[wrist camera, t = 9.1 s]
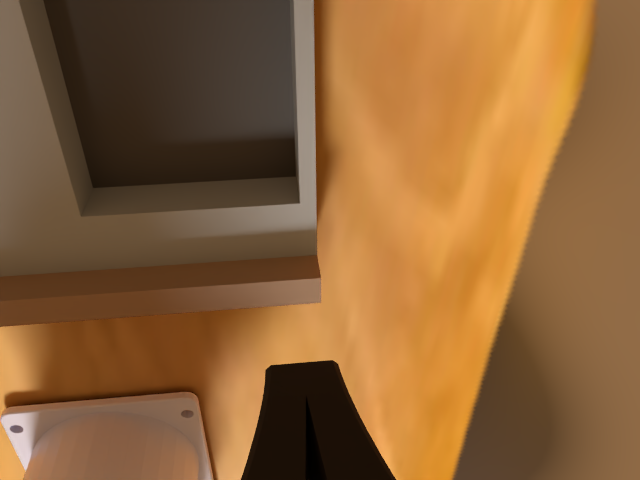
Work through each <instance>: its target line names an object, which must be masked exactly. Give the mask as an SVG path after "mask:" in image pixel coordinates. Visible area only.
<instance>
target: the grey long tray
mask: <svg viewBox="0 0 640 480" xmlns="http://www.w3.org/2000/svg"><path fill="white" fill-rule="evenodd" d="M310 303H321V276H320V270H319V264H318V258H317V215H316V136H315V58H314V0H0V327H3V326H16V325H30V324H43V323H56V322H70V321H83V320H96V319H110V318H123V317H136V316H150V315H163V314H176V313H190V312H203V311H216V310H230V309H243V308H256V307H270V306H283V305H296V304H310Z"/></svg>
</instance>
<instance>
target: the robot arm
mask: <svg viewBox="0 0 640 480" xmlns="http://www.w3.org/2000/svg"><path fill="white" fill-rule="evenodd" d="M188 410H189V411H188ZM0 421H1V423H2V425H3V427H4V429H5V431H6V433H7V435H8V437H9V439H10V441H11V443H12V445H13V447H14V449H15V451H16V453H17V455H18V457H19V459H20V461H21V463H22V465H23V467H24V469H25V471H26V472H25V475H24V478H23V480H214V479H213V474H212V468H211V463H210V458H209V453H208V448H207V442H206V437H205V432H204V427H203V422H202V416H201V411H200V406H199V401H198V398H197V396H196V395H195V394H194V393H191V392H177V393H165V394H153V395H142V396H130V397H118V398H107V399H95V400H83V401H72V402H60V403H48V404H37V405H25V406H13V407H8V408H6V409H5V410H4V411H3V413H2V415H1V418H0ZM241 480H396V479H395V477H394V476H393V474H392V472H391V471H390V469H389V468H388V466H387V464H386V463H385V461H384V459H383V458H382V456H381V454H380V452H379V451H378V449H377V447H376V445H375V443H374V442H373V440H372V438H371V436H370V435H369V433H368V431H367V429H366V427H365V425H364V423H363V422H362V420H361V418H360V416H359V414H358V412H357V409H356V407H355V405H354V403H353V401H352V399H351V397H350V395H349V392H348V390H347V388H346V385H345V383H344V380H343V377H342V375H341V372H340V369H339V366H338V364H337V363H336V362H334V361H333V360H330V361H317V362H305V363H293V364H281V365H271V366H270V367H269V368H267V369H266V373H265V387H264V394H263V400H262V405H261V410H260V415H259V419H258V423H257V428H256V431H255V435H254V438H253V442H252V445H251V449H250V452H249V456H248V460H247V463H246V466H245V469H244V472H243V475H242V478H241Z"/></svg>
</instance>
